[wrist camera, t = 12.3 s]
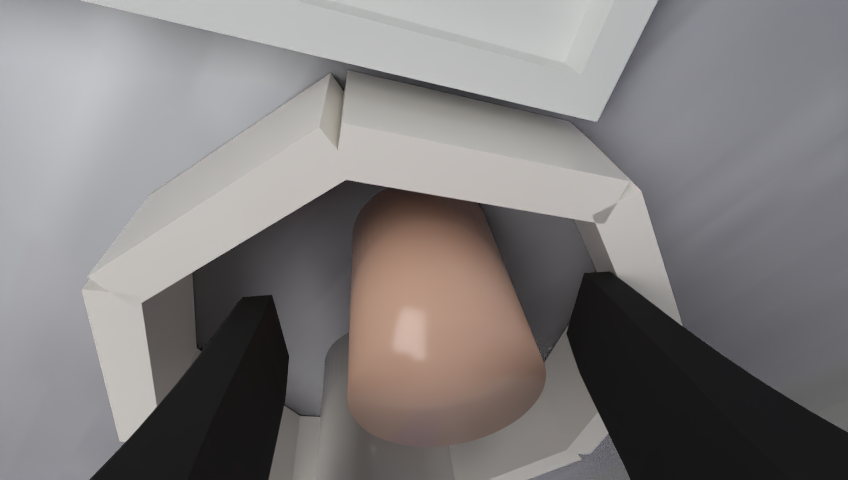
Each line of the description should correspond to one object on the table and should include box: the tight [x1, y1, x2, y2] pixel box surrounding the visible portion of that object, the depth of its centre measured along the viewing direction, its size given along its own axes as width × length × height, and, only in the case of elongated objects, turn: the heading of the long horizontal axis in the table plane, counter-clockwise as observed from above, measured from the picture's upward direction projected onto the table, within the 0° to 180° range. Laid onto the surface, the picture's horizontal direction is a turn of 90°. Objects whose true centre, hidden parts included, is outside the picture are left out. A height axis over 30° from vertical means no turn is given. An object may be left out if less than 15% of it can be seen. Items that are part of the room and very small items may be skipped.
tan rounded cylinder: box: [347, 187, 546, 447], centre depth 10 cm, size 4×4×5 cm
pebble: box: [315, 333, 455, 480], centre depth 13 cm, size 4×4×5 cm
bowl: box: [82, 70, 683, 480], centre depth 13 cm, size 14×14×3 cm
